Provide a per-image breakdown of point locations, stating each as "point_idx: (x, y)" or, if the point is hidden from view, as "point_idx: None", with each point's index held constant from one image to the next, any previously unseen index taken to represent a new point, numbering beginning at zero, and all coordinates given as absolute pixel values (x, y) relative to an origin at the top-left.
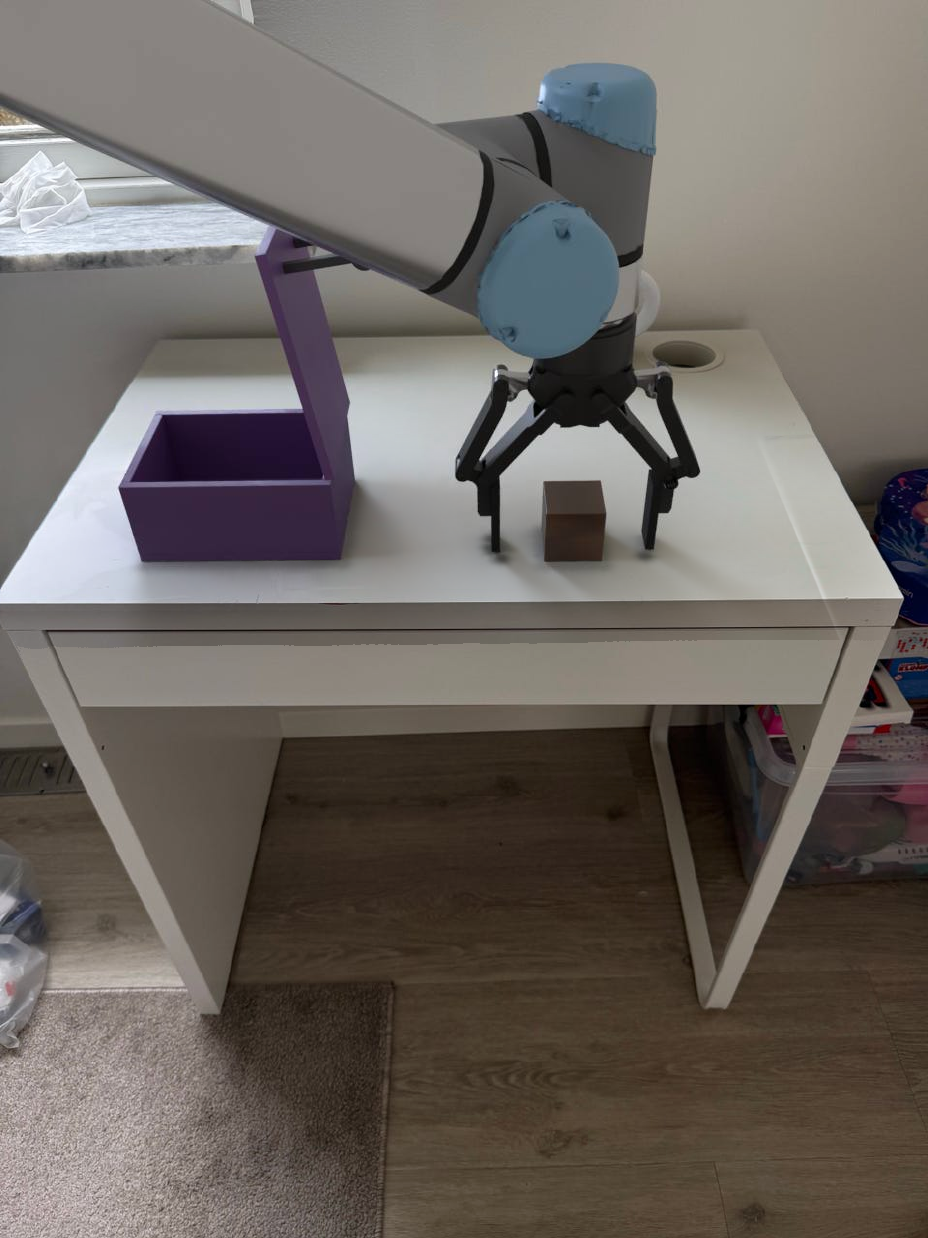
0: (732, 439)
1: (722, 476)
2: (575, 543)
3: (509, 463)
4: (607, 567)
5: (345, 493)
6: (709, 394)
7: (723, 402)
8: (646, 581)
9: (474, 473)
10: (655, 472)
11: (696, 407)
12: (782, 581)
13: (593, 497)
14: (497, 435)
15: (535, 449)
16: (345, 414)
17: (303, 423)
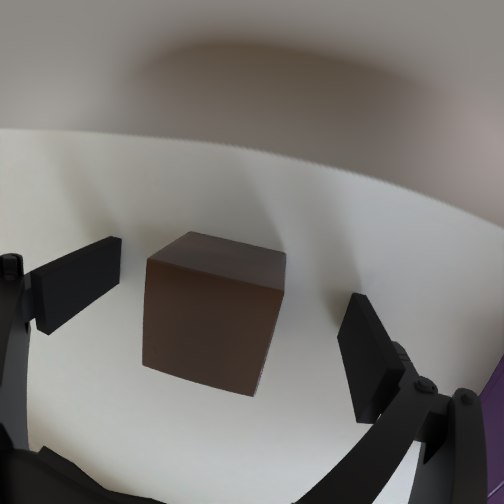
0: (35, 391)
1: (37, 348)
2: (227, 251)
3: (381, 421)
4: (185, 213)
5: (496, 410)
6: (59, 444)
7: (48, 431)
8: (138, 167)
9: (439, 407)
10: (18, 292)
11: (66, 439)
12: (14, 151)
13: (163, 320)
14: (265, 485)
15: (228, 462)
16: (496, 499)
17: (502, 485)
